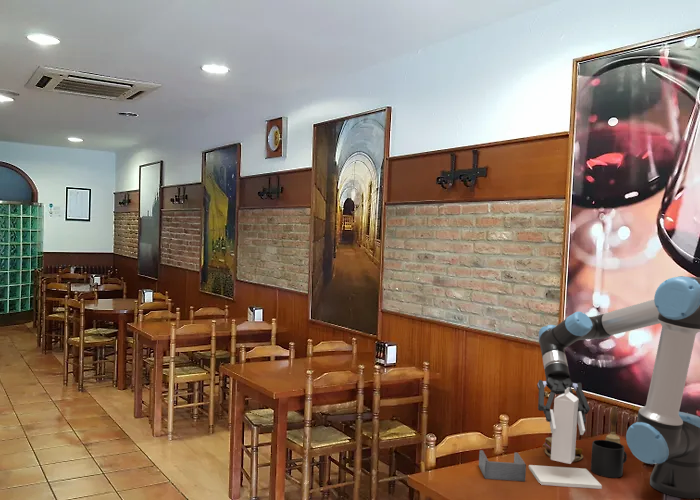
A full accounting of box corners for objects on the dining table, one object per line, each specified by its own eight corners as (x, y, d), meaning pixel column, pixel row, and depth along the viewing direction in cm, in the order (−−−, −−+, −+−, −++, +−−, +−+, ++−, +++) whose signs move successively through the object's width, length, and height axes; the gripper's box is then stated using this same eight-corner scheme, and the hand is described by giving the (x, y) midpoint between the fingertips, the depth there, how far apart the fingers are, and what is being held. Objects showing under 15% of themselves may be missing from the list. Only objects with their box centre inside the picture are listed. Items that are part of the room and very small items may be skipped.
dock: (516, 468, 201) (517, 452, 201) (525, 481, 190) (526, 464, 190) (478, 465, 201) (479, 450, 201) (484, 478, 190) (485, 462, 190)
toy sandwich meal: (553, 463, 209) (554, 448, 209) (537, 449, 222) (538, 436, 222) (589, 463, 210) (590, 449, 210) (571, 450, 224) (572, 436, 224)
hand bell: (595, 450, 224) (598, 405, 224) (606, 446, 230) (608, 402, 229) (618, 457, 218) (621, 411, 218) (629, 452, 224) (631, 407, 223)
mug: (636, 477, 199) (637, 448, 199) (603, 478, 196) (605, 449, 196) (615, 466, 208) (617, 439, 208) (584, 468, 205) (586, 440, 205)
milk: (574, 459, 196) (580, 388, 196) (570, 464, 191) (575, 391, 191) (554, 454, 199) (559, 385, 199) (549, 459, 194) (555, 388, 194)
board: (585, 471, 201) (585, 468, 201) (601, 488, 187) (601, 485, 187) (528, 468, 202) (528, 464, 202) (540, 484, 188) (540, 481, 188)
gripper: (585, 376, 210) (599, 440, 194) (521, 372, 210) (530, 435, 195) (591, 363, 204) (606, 428, 189) (526, 359, 205) (536, 423, 189)
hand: (568, 431), depth 192 cm, fingers closed on milk, 8 cm apart
